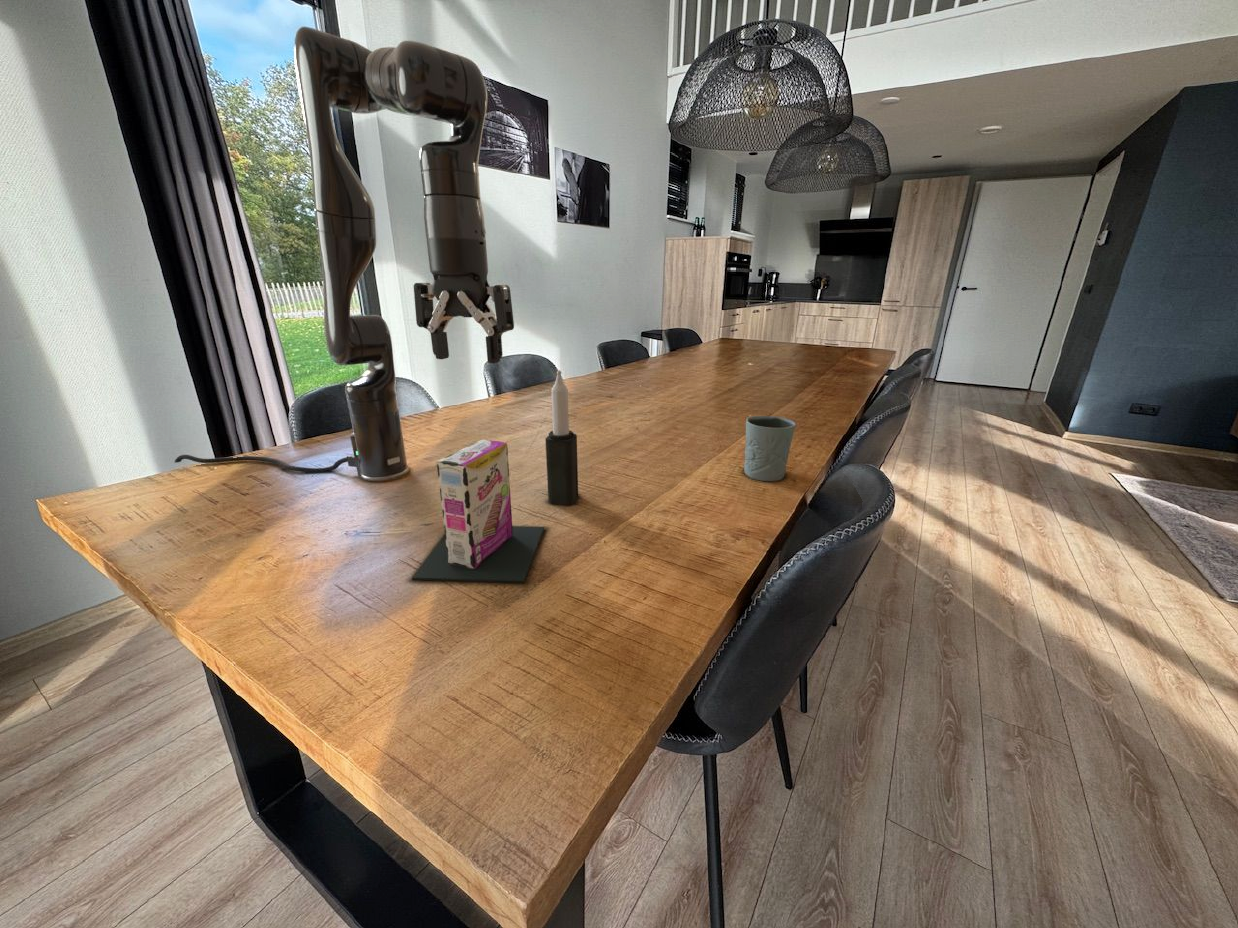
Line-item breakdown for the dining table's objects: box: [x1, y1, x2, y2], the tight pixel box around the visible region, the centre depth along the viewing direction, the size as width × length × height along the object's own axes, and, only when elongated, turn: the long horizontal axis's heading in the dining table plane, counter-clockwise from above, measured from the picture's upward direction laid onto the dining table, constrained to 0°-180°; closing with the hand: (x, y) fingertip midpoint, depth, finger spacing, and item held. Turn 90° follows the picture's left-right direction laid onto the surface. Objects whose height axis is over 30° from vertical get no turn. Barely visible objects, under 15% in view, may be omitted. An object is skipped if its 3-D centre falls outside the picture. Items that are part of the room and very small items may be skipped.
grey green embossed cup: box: [743, 415, 797, 482], centre depth 106 cm, size 10×10×12 cm
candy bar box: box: [435, 439, 513, 569], centre depth 74 cm, size 11×5×16 cm, turn 161°
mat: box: [411, 525, 545, 584], centre depth 77 cm, size 16×16×1 cm
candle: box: [544, 369, 579, 506], centre depth 91 cm, size 5×5×25 cm
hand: (468, 360), depth 71 cm, fingers open, 8 cm apart
